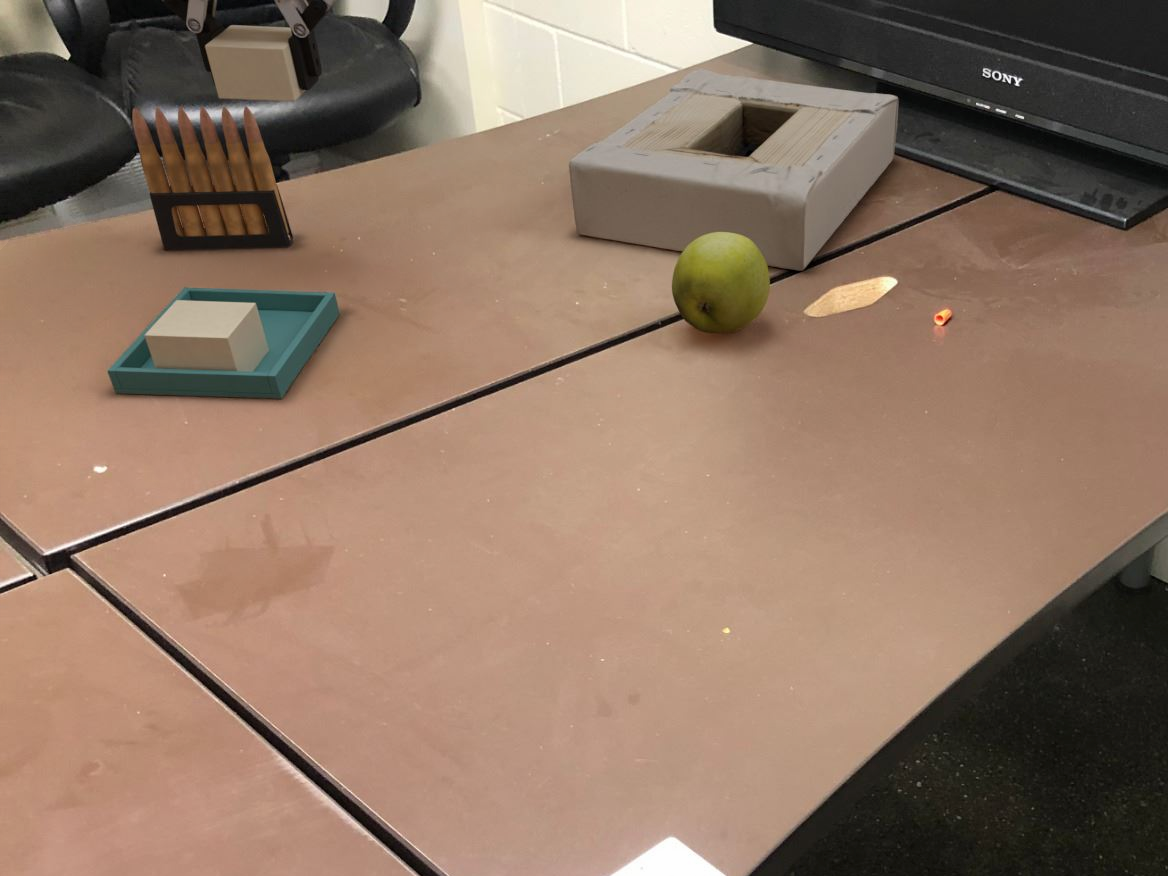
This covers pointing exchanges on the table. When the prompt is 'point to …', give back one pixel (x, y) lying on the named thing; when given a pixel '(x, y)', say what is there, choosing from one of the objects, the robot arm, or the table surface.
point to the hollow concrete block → (736, 166)
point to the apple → (720, 282)
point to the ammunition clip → (212, 186)
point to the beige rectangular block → (253, 64)
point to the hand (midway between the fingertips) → (267, 81)
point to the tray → (291, 341)
